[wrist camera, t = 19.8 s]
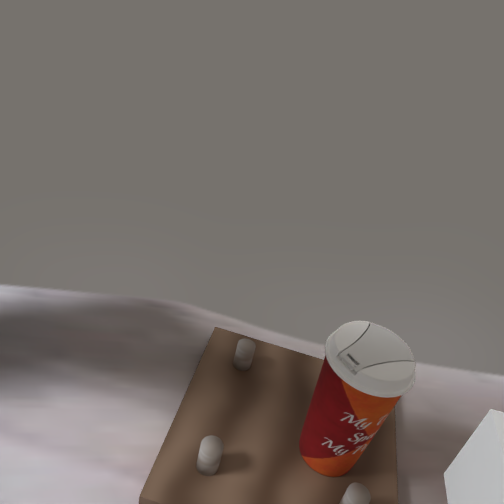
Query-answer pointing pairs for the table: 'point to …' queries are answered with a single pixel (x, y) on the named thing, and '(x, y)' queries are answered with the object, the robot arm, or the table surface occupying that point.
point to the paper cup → (354, 394)
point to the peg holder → (258, 435)
